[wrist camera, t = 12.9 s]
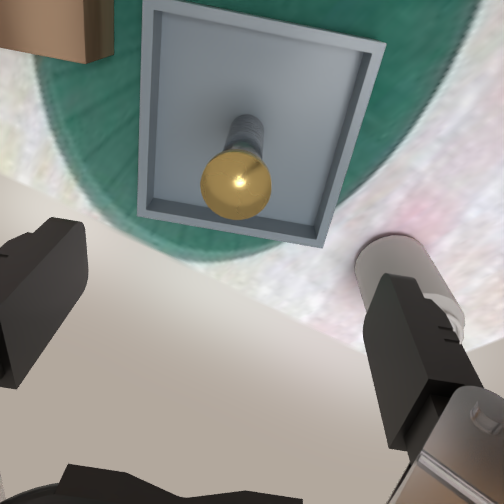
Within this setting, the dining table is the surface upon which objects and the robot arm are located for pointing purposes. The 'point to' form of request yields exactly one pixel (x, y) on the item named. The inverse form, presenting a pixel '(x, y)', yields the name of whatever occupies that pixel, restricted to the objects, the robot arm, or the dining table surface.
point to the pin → (238, 173)
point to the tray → (249, 102)
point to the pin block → (59, 28)
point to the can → (406, 274)
